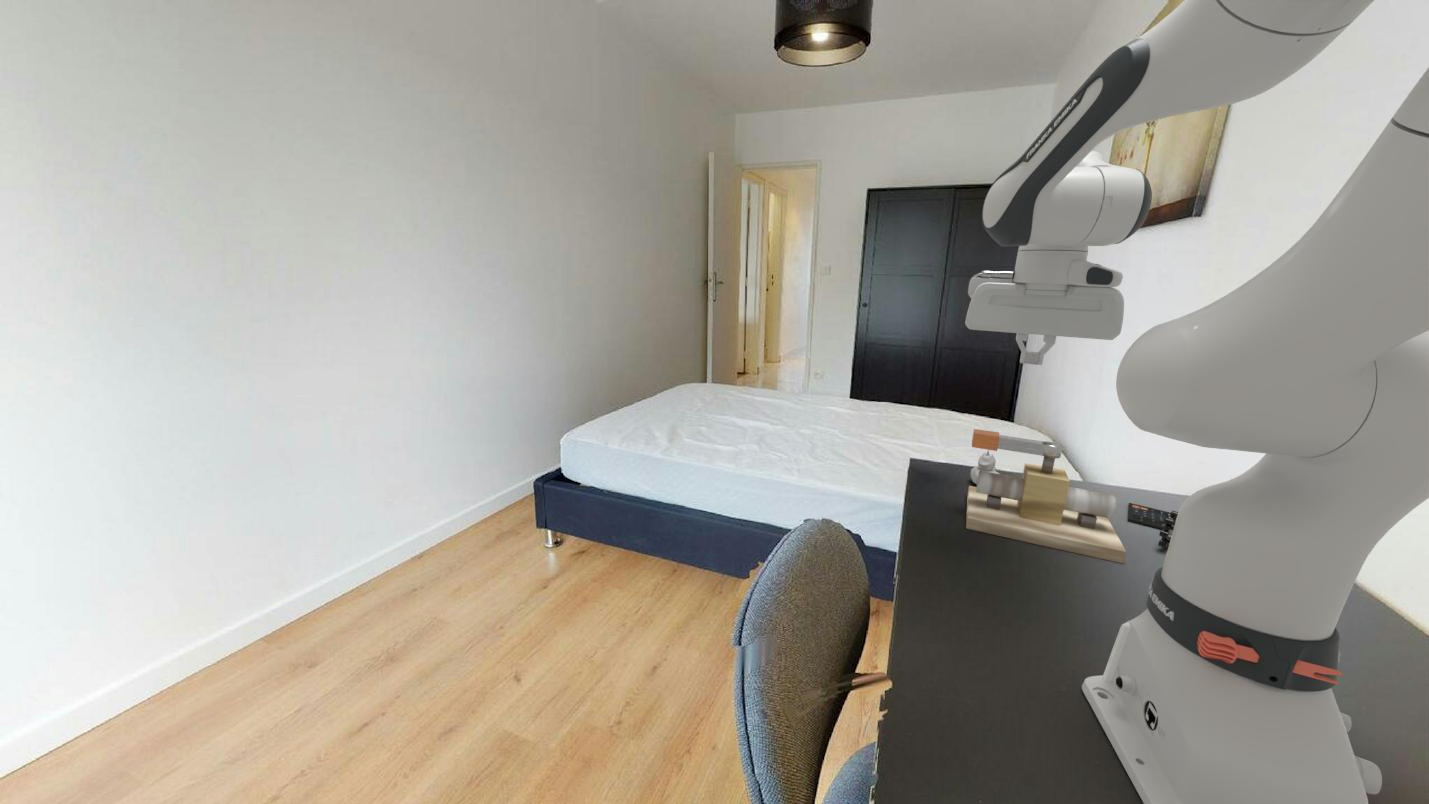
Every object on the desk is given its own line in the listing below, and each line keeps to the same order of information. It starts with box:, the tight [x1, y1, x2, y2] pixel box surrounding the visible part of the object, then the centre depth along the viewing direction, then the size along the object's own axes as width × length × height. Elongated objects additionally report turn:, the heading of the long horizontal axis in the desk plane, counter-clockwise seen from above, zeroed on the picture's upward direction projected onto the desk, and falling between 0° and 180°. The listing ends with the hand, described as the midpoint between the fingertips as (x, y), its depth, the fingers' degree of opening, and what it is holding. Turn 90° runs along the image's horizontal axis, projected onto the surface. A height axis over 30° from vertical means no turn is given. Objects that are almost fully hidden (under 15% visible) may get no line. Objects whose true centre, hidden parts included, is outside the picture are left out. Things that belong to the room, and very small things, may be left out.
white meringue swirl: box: [970, 450, 1000, 485], centre depth 107 cm, size 5×7×8 cm
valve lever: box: [971, 428, 1063, 459], centre depth 90 cm, size 14×3×3 cm, turn 64°
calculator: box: [1127, 502, 1171, 531], centre depth 93 cm, size 9×12×3 cm
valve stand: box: [965, 456, 1127, 564], centre depth 89 cm, size 16×22×13 cm
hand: (1030, 363), depth 80 cm, fingers closed
